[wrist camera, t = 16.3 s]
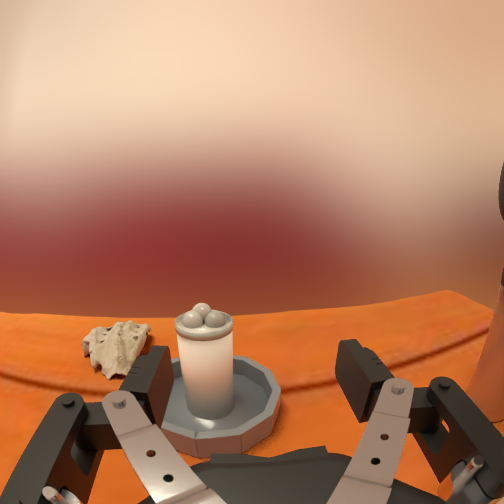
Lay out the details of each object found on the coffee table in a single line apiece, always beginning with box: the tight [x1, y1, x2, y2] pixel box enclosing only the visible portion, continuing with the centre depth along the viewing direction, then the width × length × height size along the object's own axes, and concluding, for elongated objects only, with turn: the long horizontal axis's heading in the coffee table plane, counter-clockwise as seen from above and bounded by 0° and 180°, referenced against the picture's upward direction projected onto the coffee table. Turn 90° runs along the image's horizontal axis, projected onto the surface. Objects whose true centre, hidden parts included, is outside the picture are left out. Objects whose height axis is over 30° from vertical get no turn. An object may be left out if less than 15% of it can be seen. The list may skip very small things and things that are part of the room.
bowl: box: [161, 355, 281, 458], centre depth 31 cm, size 17×17×4 cm
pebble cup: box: [175, 303, 234, 420], centre depth 30 cm, size 6×6×14 cm
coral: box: [82, 320, 151, 380], centre depth 42 cm, size 15×12×5 cm
